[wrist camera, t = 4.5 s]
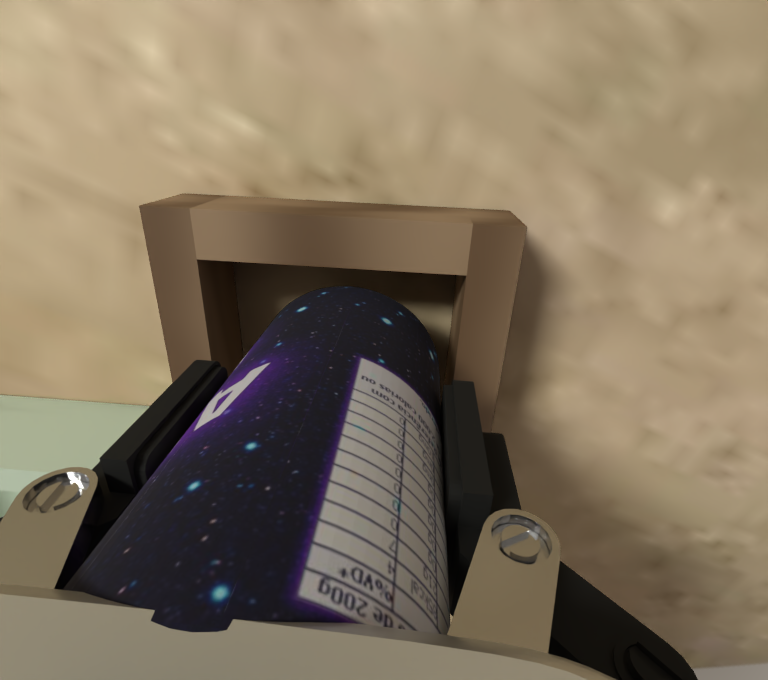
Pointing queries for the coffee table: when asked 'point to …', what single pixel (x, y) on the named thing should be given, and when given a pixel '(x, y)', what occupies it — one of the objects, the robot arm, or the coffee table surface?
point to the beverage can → (298, 484)
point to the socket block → (338, 250)
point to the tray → (54, 437)
